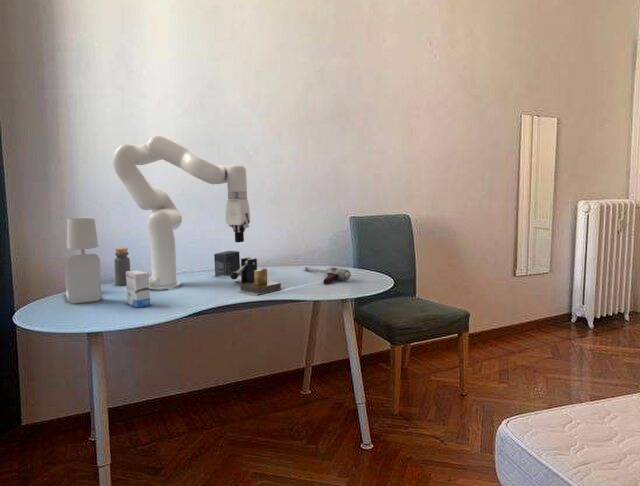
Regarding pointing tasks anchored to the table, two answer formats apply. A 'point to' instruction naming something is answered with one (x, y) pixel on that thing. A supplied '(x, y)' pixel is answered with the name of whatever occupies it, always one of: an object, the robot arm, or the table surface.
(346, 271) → the grey pistol
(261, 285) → the lock plate
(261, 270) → the thumbturn
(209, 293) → the table surface
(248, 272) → the handle bracket
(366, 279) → the table surface
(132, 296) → the ink box
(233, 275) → the door lever
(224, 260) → the box
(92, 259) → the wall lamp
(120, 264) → the bottle
